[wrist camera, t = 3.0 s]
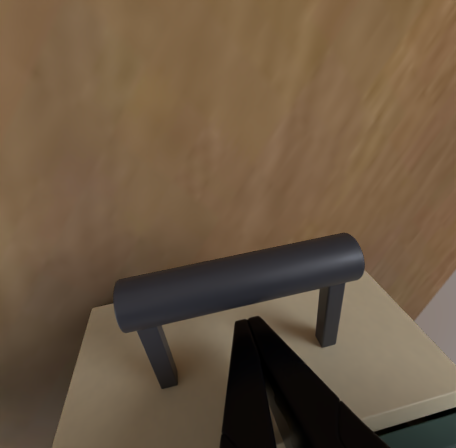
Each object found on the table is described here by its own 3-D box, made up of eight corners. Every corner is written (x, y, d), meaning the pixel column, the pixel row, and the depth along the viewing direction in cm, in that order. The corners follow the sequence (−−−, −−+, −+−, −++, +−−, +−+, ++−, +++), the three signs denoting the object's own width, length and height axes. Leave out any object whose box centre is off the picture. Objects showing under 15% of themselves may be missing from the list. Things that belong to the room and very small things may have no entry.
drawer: (48, 224, 11) (-101, 436, 5) (360, 167, 12) (552, 273, 6) (160, 439, 21) (159, 596, 15) (326, 393, 23) (387, 519, 16)
